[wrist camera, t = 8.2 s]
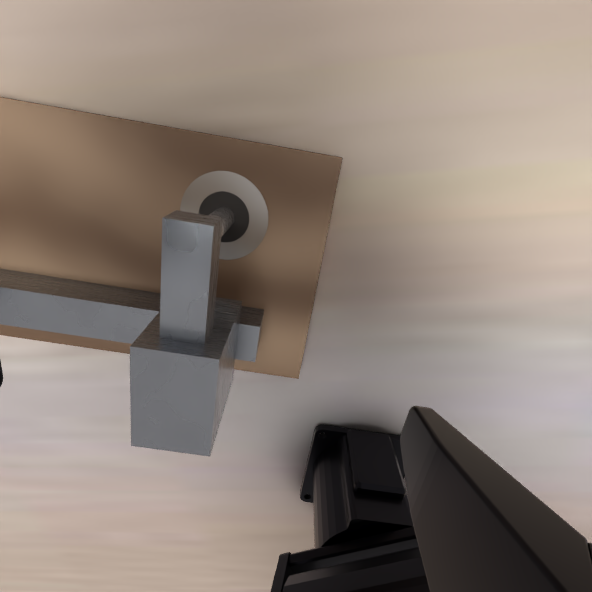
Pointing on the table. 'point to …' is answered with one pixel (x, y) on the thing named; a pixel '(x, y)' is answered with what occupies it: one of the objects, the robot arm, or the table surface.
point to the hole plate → (163, 215)
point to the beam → (156, 331)
